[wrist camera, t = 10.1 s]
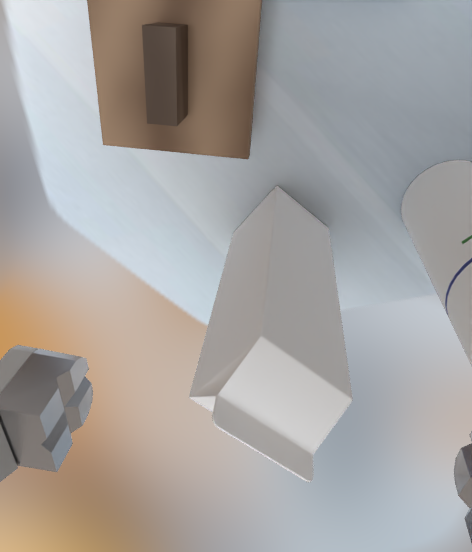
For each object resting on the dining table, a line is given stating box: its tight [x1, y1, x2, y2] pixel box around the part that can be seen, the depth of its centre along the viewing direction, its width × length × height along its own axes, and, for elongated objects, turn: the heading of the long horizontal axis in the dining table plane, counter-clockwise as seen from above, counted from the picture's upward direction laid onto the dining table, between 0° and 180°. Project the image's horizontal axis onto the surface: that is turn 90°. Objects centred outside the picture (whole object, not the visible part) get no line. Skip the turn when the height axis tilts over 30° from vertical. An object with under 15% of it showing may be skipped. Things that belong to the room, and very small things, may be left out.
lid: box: [87, 0, 262, 159], centre depth 25 cm, size 10×10×4 cm
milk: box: [189, 186, 352, 482], centre depth 28 cm, size 6×6×22 cm
